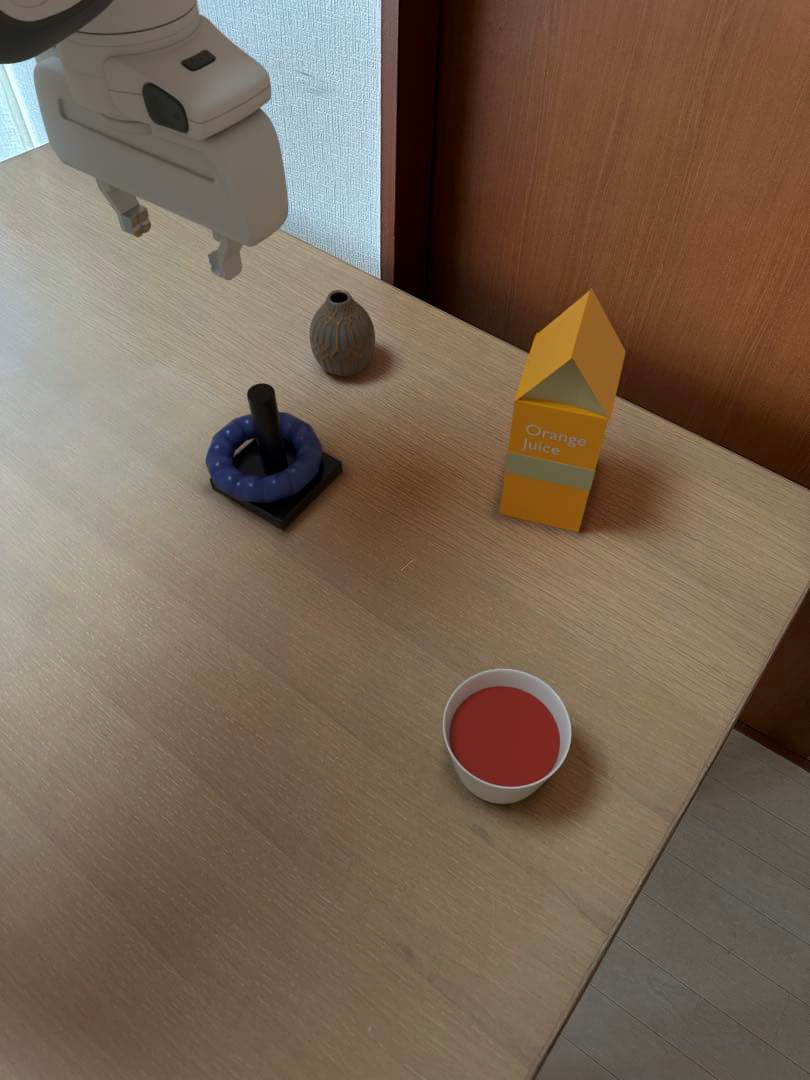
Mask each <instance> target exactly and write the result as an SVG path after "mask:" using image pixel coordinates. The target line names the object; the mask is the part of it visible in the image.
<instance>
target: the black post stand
mask: <svg viewBox="0 0 810 1080" xmlns="http://www.w3.org/2000/svg"><path fill="white" fill-rule="evenodd" d="M246 397H247V402H248V406H249V407H248V408H249V411H250V414H251V416H252V421H253V425H254V430H255V435H256V438H255V439H251V440H250V442H249V443H248V444H247V445H245V446H244V447H243V448H242V449H241V450H239V452H237V454H235V455H234V456H233V460H232V461H233V463H234V466H235V468H236V469H237V470H239V471H241V472H242V473H244V474H246V475H250V476H263V477H266V476H269V475H272V474H275V473H278V472H281V471H284V470H285V469H286V468H287V467H288V466H289V465H290V464H291V463H292V462H294V460H295V456H296V453H297V451H296V449H295V447H294V445H293V443H291V442H290V441H288V440H286V439H284V438H283V434H282V428H281V423H280V417H279V412H280V411H279V407H278V406H279V405H278V401H277V400H278V399H277V395H276V389H275V388H274V387H273V386H272V385H271V384H269V383H265V382H264V383H263V382H261V383H256V384H253V385H252V386H250V387H249V388H248V389H247V392H246ZM343 468H344V467H343V461H342V460H340V459H338V458H337V457H334V456H333V455H331V454H329V453H327V452H325V451H323V453H322V458H321V462H320V466H319V471H318V473H317V475H316V476H315V477H314V478H313V479H312V480H311V481H310V482H309V483H308V484H307V485H306V486H305V487H304V488H303V489H302V490H301V491H300V492H298V493H297V494H295V495H292V496H289V497H286V498H283V499H280V500H277V501H274V502H271V503H260V502H248V501H239V500H237V499H235V498H234V497H232V496H230V495H229V494H227V493H225V492H224V491H222V490H221V489H219V488H217V487H216V486H215V485H214V483H213V481H212V478H211V477H209V482H210V485H211V489H212V490H213V491H215V492H216V493H218V494H220V495H222V496H223V497H225V498H227V499H228V500H230V501H231V502H234V503H235V504H236V505H238V506H240V507H241V508H244V509H245V510H246V511H248V512H250V513H252V514H253V515H255V516H257V517H259V518H260V519H262V520H264V521H265V522H267V523H269V524H270V525H272V526H274V527H276V528H277V529H279V530H281V531H282V532H285V530H286V529H288V527H289V526H291V525H292V523H293V522H295V520H297V518H298V517H300V515H302V514H303V512H304V511H305V510H307V509H308V507H309V506H310V505H312V503H314V501H315V500H317V498H318V497H319V496H320V495H322V493H323V492H324V491H325V490H326V489H327V488H329V486H331V484H332V483H333V482H334V481H335V480H336V479H337V478H338V477H339V476H340V475H341V474H342V473H344V469H343Z"/></svg>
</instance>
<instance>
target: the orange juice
mask: <svg viewBox="0 0 810 1080" xmlns="http://www.w3.org/2000/svg"><path fill="white" fill-rule="evenodd" d="M625 357H626V349H625V347H624V346H623V344H622V341H621V339H620V338H619V336H618V335H617V333H616V330H615V329H614V327H613V325H612V324H611V321H610V320H609V318H608V316H607V314H606V313H605V310H604V309H603V307H602V304H601V303H600V301H599V299H598V297H597V296H596V294H595V292H594V289H593V287H590V289H589V290H588V291H587V292H586V293H585V294H583V295H582V296H581V297H580V298H579V299H578V300H576V301H575V302H573V304H572V305H570V306H569V307H568V308H567V309H566V310H564V311H563V312H562V313H561V314H560V315H558V316H557V317H556V318H555V319H554V320H552V321H551V322H550V323H549V324H547V325H546V326H545V327H544V328H543V329H541V330H540V331H539V332H536V334H535V335H534V338H533V342H532V345H531V348H530V351H529V354H528V357H527V360H526V363H525V366H524V369H523V371H522V375H521V378H520V381H519V384H518V387H517V390H516V393H515V396H514V400H513V409H512V417H511V424H510V431H509V439H508V445H507V446H508V447H507V451H506V457H505V466H504V475H503V483H502V484H503V485H502V492H501V499H500V505H499V506H500V507H499V515H501V516H505V517H509V518H513V519H514V518H515V519H519V520H522V521H523V520H524V521H526V522H531V523H535V524H540V525H544V526H549V527H553V528H557V529H561V530H565V531H570V532H575V533H579V532H580V528H581V525H582V521H583V518H584V514H585V510H586V506H587V502H588V498H589V494H590V491H591V488H592V486H593V482H594V481H593V480H594V477H595V473H596V469H597V467H598V466H597V465H598V462H599V457H600V452H601V448H602V446H603V443H604V439H605V435H606V429H607V428H608V424H609V422H611V418H612V414H613V410H614V405H615V400H616V397H617V391H618V388H619V383H620V379H621V374H622V370H623V366H624V362H625Z"/></svg>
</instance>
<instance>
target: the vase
mask: <svg viewBox="0 0 810 1080" xmlns="http://www.w3.org/2000/svg"><path fill="white" fill-rule="evenodd" d="M352 296H353V295H352V294H350V292H349V291H347V290H344V289H336V290H335V289H334V290H332V291H331V292H329V293H328V294H327V296H326V298H325V300H324V302H323V303H322V304H321V305H320V307H319V308H318V309H317V310H316V312H315V313H314V314H313V317H312V319H311V322H310V327H309V336H308V337H309V345H310V349H311V352H312V354H313V357H314V358H315V361H316V362H317V363H318V365H319V366H320V367H321V368H322V369H324V370H325V371H326V372H328V373H330V374H333V375H336V376H340V377H346V376H347V377H348V376H352V375H355V374H357V373H359V372H360V371H362V370H363V369H365V367H366V366H368V364H369V363H370V361H371V360H372V358H373V355H374V352H375V346H376V331H375V325H374V323H373V320H372V318H371V316H370V314H369V313H368V311H367V310H366V309H365V308H364V306H362V305H361V304H359V303H358V302H357V301H356V300H355V299H354V298H353V297H352Z"/></svg>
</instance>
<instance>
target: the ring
mask: <svg viewBox="0 0 810 1080" xmlns="http://www.w3.org/2000/svg"><path fill="white" fill-rule="evenodd" d="M278 412H279V417H280V423H281V428H282V434H283V438H284V439H286V440H288V441H290V442H291V443H293V445H294V447H295V449H296V451H297V453H296V456H295V460H294V462H292V463H291V464H290V465H289V466H288V467H287V468H286V469H285V470H284V471H281V472H278V473H275V474H272V475H269V476H266V477H263V476H250V475H246V474H244V473H242V472H241V471H239V470H237V469H236V468H235V466H234V463H233V461H232V460H233V457H235V453H236V451H237V450H238V449H239V448H240V447H242V446H243V445H244V444H245V443H246V442H248V441H252V440H254V439H255V438H256V435H255V430H254V425H253V421H252V416H251V413H248V414H244V415H241V416H238V417H235V418H233V419H231V420H230V421H229V422H228V423H227V424H225V425H224V426H223V427H222V428H221V429H220V430H218V431H217V432H216V433H214V435H213V437H212V438H211V440H210V444H209V446H208V449H207V453H206V456H205V460H204V461H205V465H206V468H207V470H208V473H209V476H210V478H212V481H213V483H214V485H215V486H216V487H217V488H219V489H221V490H222V491H224V492H225V493H227V494H229V495H230V496H232V497H234V498H235V499H237V500H239V501H248V502H260V503H271V502H274V501H277V500H280V499H283V498H286V497H289V496H292V495H295V494H297V493H298V492H300V491H301V490H302V489H303V488H304V487H305V486H306V485H307V484H308V483H309V482H310V481H311V480H312V479H313V478H314V477H315V476H316V475H317V473H318V471H319V466H320V462H321V458H322V453H323V452H324V449H323V445H322V443H321V440H320V438H319V437H318V435H317V432H316V431H315V429H314V427H313V426H312V425H311V424H310V423H308V422H306V421H305V420H302V419H301V418H299V417H297V416H295V415H294V414H292V413H289V412H286V411H278Z"/></svg>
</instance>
